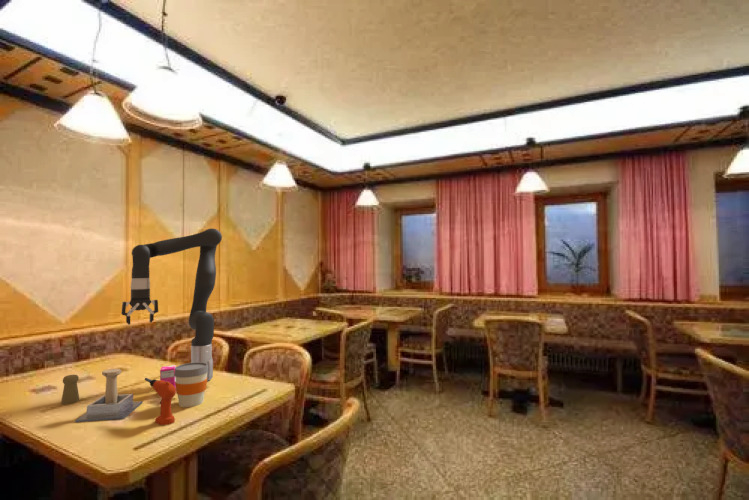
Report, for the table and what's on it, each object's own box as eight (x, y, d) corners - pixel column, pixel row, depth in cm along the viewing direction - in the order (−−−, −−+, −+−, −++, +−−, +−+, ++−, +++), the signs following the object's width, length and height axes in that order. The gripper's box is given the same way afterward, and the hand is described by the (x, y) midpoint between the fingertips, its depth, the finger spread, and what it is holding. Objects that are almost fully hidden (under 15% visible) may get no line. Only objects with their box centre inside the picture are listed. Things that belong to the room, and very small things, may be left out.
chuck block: (142, 403, 155) (142, 391, 155) (123, 418, 139) (123, 405, 139) (99, 406, 152) (99, 394, 152) (75, 422, 136) (75, 409, 136)
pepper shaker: (83, 400, 159) (83, 373, 160) (67, 405, 153) (67, 377, 154) (73, 398, 161) (73, 372, 162) (57, 403, 155) (57, 376, 156)
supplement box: (161, 392, 168) (161, 366, 168) (176, 390, 170) (176, 364, 171) (159, 396, 163) (159, 369, 163) (175, 394, 165) (175, 367, 165)
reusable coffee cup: (173, 411, 146) (174, 372, 146) (174, 401, 157) (174, 364, 157) (209, 405, 151) (209, 367, 152) (207, 395, 162) (207, 360, 163)
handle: (112, 412, 143) (113, 372, 143) (98, 411, 144) (99, 372, 144) (123, 408, 147) (123, 369, 148) (109, 407, 149) (110, 368, 149)
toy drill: (149, 407, 146) (152, 369, 145) (177, 423, 136) (181, 383, 136) (136, 412, 141) (139, 372, 141) (164, 429, 132) (167, 386, 131)
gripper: (123, 289, 166) (122, 326, 165) (159, 287, 175) (159, 322, 175) (121, 288, 172) (120, 324, 171) (156, 287, 181) (156, 320, 180)
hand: (140, 323), depth 173 cm, fingers open, 8 cm apart
